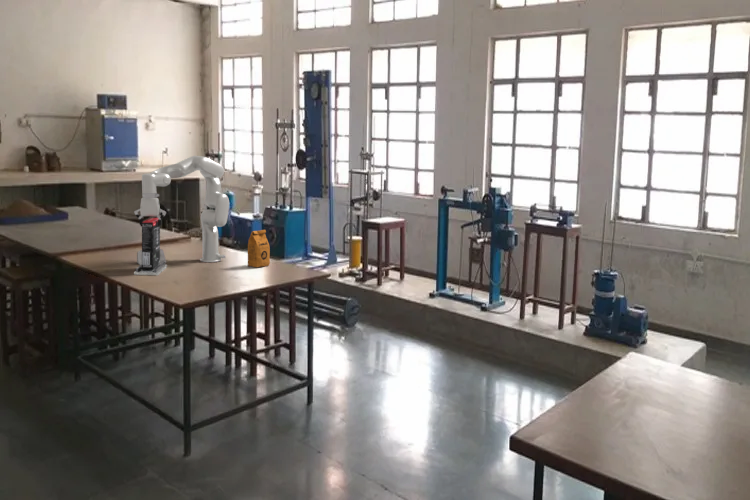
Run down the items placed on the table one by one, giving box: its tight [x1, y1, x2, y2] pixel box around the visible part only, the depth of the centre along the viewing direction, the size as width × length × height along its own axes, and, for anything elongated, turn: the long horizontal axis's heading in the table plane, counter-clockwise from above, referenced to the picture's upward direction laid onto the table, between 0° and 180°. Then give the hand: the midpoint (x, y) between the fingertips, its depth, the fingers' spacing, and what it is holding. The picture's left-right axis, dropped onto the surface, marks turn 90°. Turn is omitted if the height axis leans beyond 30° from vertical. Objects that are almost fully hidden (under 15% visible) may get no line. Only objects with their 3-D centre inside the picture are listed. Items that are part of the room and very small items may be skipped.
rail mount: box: [133, 261, 168, 276], centre depth 386 cm, size 13×22×4 cm, turn 4°
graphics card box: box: [141, 217, 161, 269], centre depth 384 cm, size 17×7×27 cm, turn 5°
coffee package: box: [247, 229, 271, 268], centre depth 408 cm, size 10×12×22 cm
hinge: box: [136, 248, 167, 266], centre depth 408 cm, size 17×5×10 cm, turn 125°
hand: (150, 226), depth 382 cm, fingers open, 9 cm apart
